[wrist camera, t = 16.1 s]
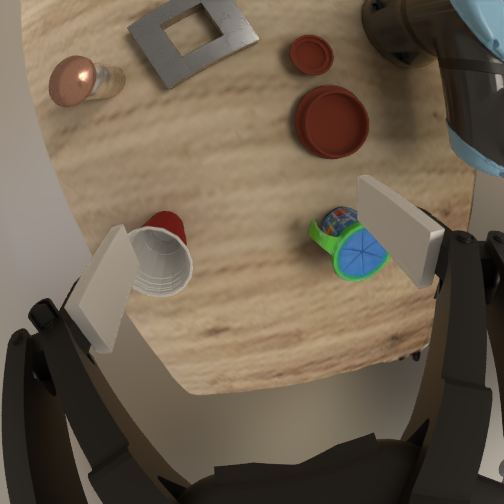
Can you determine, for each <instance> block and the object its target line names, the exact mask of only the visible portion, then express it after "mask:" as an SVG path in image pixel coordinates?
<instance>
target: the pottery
mask: <svg viewBox="0 0 504 504" xmlns="http://www.w3.org/2000/svg"><path fill="white" fill-rule="evenodd" d="M290 57H291V60H292V62H293V64H294V65H295V66H296V67H297V68H298V69H299V70H300V71H302V72H303V73H306V74H309V75H320V74H323V73H325V72H326V71H328V70H329V69H330V67H331V66H332V63H333V58H334V57H333V51H332V49H331V47H330V45H329V44H328V43H327V42H326V41H325V40H323V39H322V38H320V37H318V36H314V35H304V36H301V37H299V38H297V39H296V40H295V41H294V42H293V44H292V45H291V48H290ZM295 125H296V131H297V134H298V137H299V139H300V141H301V142H302V144H303V145H304V146H305V147H306V148H307V149H308V150H309V151H310V152H311V153H313V154H314V155H316V156H319V157H321V158H325V159H338V158H342V157H346V156H349V155H351V154H353V153H355V152H356V151H357V150H358V149H359V148H360V147H361V146H362V145H363V144H364V142H365V140H366V138H367V135H368V131H369V118H368V114H367V112H366V109H365V108H364V106H363V104H362V103H361V102H360V101H359V100H358V98H357V97H356V96H355V95H354V94H352V93H351V92H350V91H348V90H346V89H344V88H342V87H338V86H332V85H328V86H321V87H318V88H316V89H314V90H312V91H310V92H309V93H308V94H307V95H306V96H305V97H304V98H303V99H302V101H301V102H300V104H299V106H298V109H297V112H296V117H295Z"/></svg>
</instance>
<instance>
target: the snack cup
mask: <svg viewBox="0 0 504 504" xmlns="http://www.w3.org/2000/svg"><path fill="white" fill-rule="evenodd" d="M308 235H309V237H311V238H312V239H313V240H314V241H316V242H317V243H318V244H319V245H320V246H321V247H322V248H323V249H324V250H326V251H327V252H328V253H330V256H331V262H332V265H333V268H334V271H335V273H336V274H337V275H338V276H340V277H341V278H343V279H345V280H347V281H361V280H364V279H367V278H369V277H371V276H373V275H374V274H376V273H377V272H378V271H379V270H380V269H381V268H382V267H383V266H384V265H385V264H386V263H387V262H388V261H389V259H390V257H391V256H390V254H389V253H388V252H387V251H386V250H385V249H384V248H383V247H382V246H381V244H380V243H379V242H378V241H377V240H376V239H375V238H374V237H373V236H372V235H371V234H370V232H369V231H368V230H367V229H366V228H365V227H364V226H363V225H362V224H361V223H360V222H359V221H358V220H357V211H355V210H353V209H351V208H346V207H344V208H342V207H340V208H337V209H335V210H334V211H332V212H331V213H330V214H329V215H328V216H327V217H326V219H325V220H324V221H323V228H322V231H321V230H320V229H319V228H318V227H317V223H316V220H315V219H314V220H313V221H312V222H311V225H310V227H309V231H308Z"/></svg>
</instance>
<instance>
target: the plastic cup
mask: <svg viewBox="0 0 504 504" xmlns="http://www.w3.org/2000/svg"><path fill="white" fill-rule="evenodd" d="M127 235H128V237H129V239H130V242H131V244H132V247H133V249H134V251H135V254H136V256H137V258H138V261H139V263H140V266H139V269H138V271H137V274H136V277H135V280H134V283H133V286H132V289H134V290H136V291H138V292H140V293H142V294H144V295H146V296H152V297H158V298H161V297H166V296H172V295H174V294H176V293H178V292H179V291H181V290H182V289H184V288H185V287H186V285H187V284H188V282H189V280H190V279H191V277H192V270H193V261H192V258H191V255H190V252H189V249H188V247H187V243H186V236H185V232H184V226H183V223H182V221H181V219H180V218H179V217H178V216H177V215H176V214H174V213H172V212H167V211H163V212H159V213H157V214H156V215H154V216H153V217H152V218H151V219H150V220H149V221H148V222H146V223H145V224H144V225H143V226H142V227H141V228H139V229H135V230H132V231H131V232H130V233H128V234H127Z"/></svg>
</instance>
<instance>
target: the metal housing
mask: <svg viewBox="0 0 504 504" xmlns="http://www.w3.org/2000/svg"><path fill="white" fill-rule="evenodd" d="M201 9H203V10H204V11H205V13H206V14H207V16H208V17H209V18H210V20H211V21H212V23H213V24H214V26H215V27H216V29H217V30H218V32H219V33H220V34H221V36H222V37H220V38H218V39H216V40H214V41H212V42H210V43H208V44H206V45H204V46H202V47H200V48H198V49H197V50H195V51H193V52H191V53H189V54H188V55H186V56H184V57H183V58H182V56H181V55H180V53H179V52H178V50H177V49H176V47H175V46H174V44H173V43H172V42H171V40H170V39H169V37H168V36H167V34H166V33H165V31H164V29H166V28H167V27H169V26H171V25H172V24H174V23H176V22H178V21H179V20H181V19H183V18H185V17H187V16H189V15H191V14H193V13H195V12H197V11H199V10H201ZM127 29H128V30H129V32H130V33H131V34H132V36H133V37H134V39H135V40H136V42H137V43H138V45H139V46H140V48H141V49H142V51H143V52H144V54H145V55H146V57H147V58H148V60H149V61H150V63H151V64H152V66H153V67H154V69H155V70H156V72H157V73H158V75H159V76H160V78H161V79H162V81H163V82H164V84H165V85H166V87H167V88H168V89H172V88H174V87H175V86H177V85H178V84H180V83H182V82H183V81H185V80H187V79H188V78H190V77H192V76H193V75H195V74H197V73H198V72H200V71H202V70H204V69H206V68H207V67H209V66H211V65H213V64H215V63H217V62H219V61H220V60H222V59H224V58H226V57H228V56H230V55H232V54H234V53H236V52H239V51H241V50H243V49H245V48H247V47H249V46H251V45H254V44H256V43H257V42H258V41H259V40H260V39H259V38H258V36H257V34H256V33H255V31H254V30H253V28H252V27H251V25H250V24H249V22H248V21H247V19H246V18H245V16H244V15H243V13H242V12H241V10H240V9H239V8H238V6H237V5H236V3H235V2H234V1H233V0H171V1H169V2H167V3H166V4H164V5H162V6H160V7H159V8H157V9H155V10H153V11H152V12H150V13H149V14H147V15H145V16H144V17H142V18H141V19H139V20H138V21H136V22H134V23H133V24H132V25H130V26H129V27H127Z"/></svg>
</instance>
